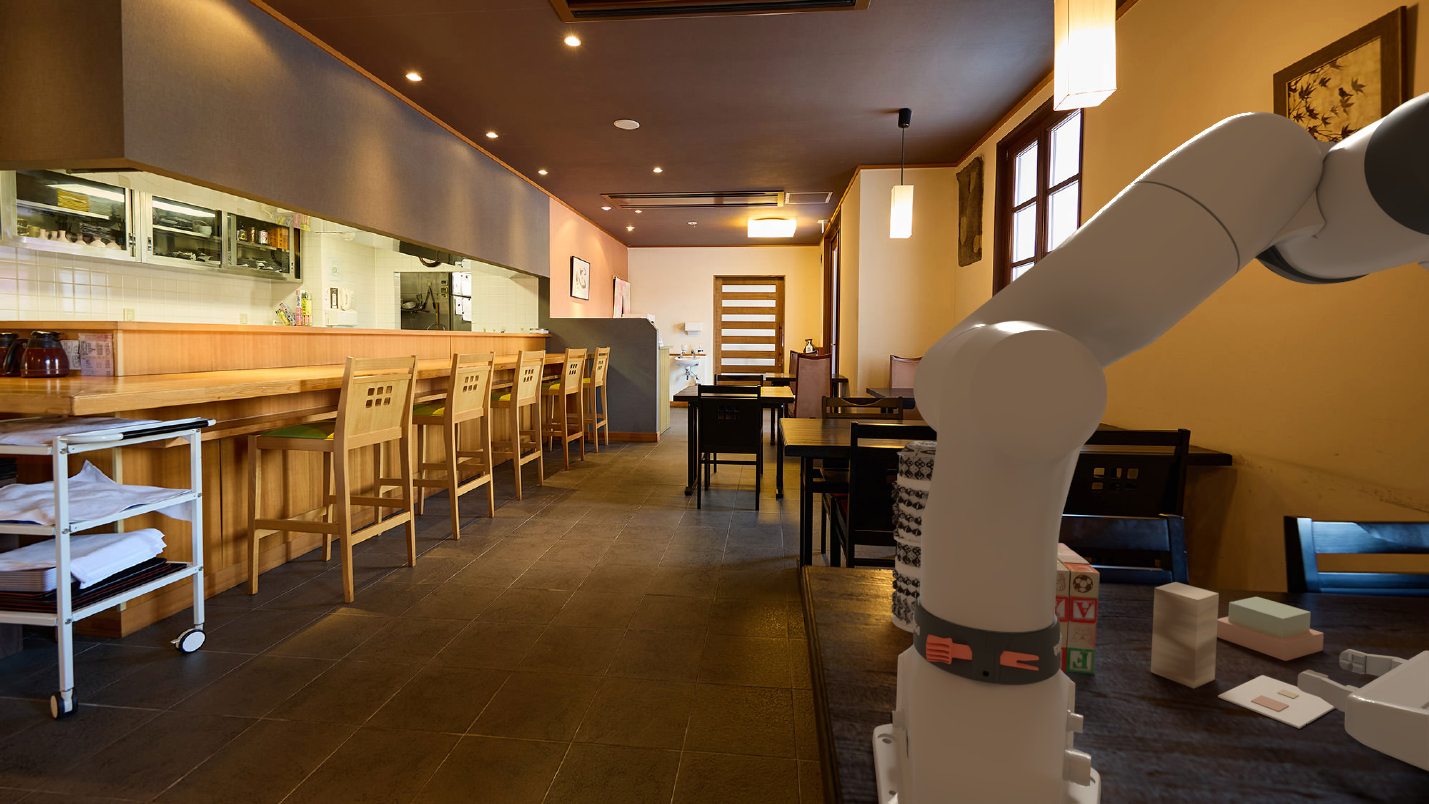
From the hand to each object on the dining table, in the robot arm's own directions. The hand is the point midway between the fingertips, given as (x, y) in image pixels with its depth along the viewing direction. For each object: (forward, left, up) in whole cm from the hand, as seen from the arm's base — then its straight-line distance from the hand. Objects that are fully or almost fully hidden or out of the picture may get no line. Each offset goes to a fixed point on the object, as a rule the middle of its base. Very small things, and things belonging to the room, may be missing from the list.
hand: (1322, 667), depth 66 cm
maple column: (+8, +10, -6) cm, 14 cm away
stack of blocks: (+14, +24, -6) cm, 28 cm away
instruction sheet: (+5, +2, -6) cm, 8 cm away
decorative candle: (+13, +39, -6) cm, 41 cm away
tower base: (+23, -3, -6) cm, 24 cm away
